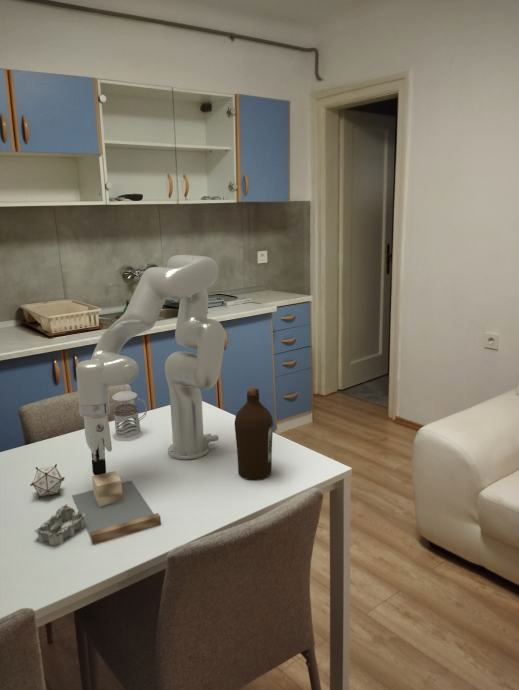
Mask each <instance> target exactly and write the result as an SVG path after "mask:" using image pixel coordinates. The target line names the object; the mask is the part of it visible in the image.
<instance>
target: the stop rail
mask: <svg viewBox="0 0 519 690" xmlns="http://www.w3.org/2000/svg"><path fill="white" fill-rule="evenodd" d="M161 519H162V518H161V515H160V514H159V512H157V513H154V514H153V515H149V516H146V517H142V518H139V519H135V520H132V521H128V522H125V523H121V524H118V525H114V526H111V527H107V528H104V529H100V530H97V531H93V532H90V533H91V539H90V541H91V543H92V545H95V544H100V543H103V542H107V541H110V540H113V539H116V538H120V537H124V536H126V535H131V534H134V533H137V532H140V531H144V530H146V529H151V528H153V527H157V526H160V525H162V520H161Z"/></svg>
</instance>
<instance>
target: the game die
mask: <svg viewBox="0 0 519 690" xmlns="http://www.w3.org/2000/svg"><path fill="white" fill-rule="evenodd" d="M57 466H58V464H57V463H55V465H54V466H49V467H43V468H38V467H37V466H35V469H36V473H35V477H34V479H33V481H32V482H31V483H30V484H29V486H30V487H32V486H33V488H34V489H35V491H36V492H37V494H38V495H39V496H38V499H41V498H42V497H45V496H51V495H57V496H60V495H61V493H60V488H61V485H62V482H63V481H65V478H66V477H65V476H61V474H60V472H59V470H58V468H57Z"/></svg>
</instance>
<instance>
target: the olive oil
mask: <svg viewBox="0 0 519 690" xmlns="http://www.w3.org/2000/svg"><path fill="white" fill-rule="evenodd" d="M259 389H260V388H259V387H251V386H250V387H248V388H247V389H246V402H245V404H244V405H243V406H241V408H240V409H239V410H238V411H237V413H236V415H235V418H234V432H235V434H234V435H235V443H236V454H237V455H236V457H237V468H238V469H237V472H238V475H239V476H240V477H241V478H242V479H244V480H249V481H259V480H260V481H261V480H265V479H266V478H268V477H270V475H271V474H272V469H273V468H272V460H273V458H272V457H273V430H274V429H273V428H274V427H273V426H274V421H273V416H272V414H271V411H270V410H268V408H267V407H265V405H264V404H262V402H260V390H259Z"/></svg>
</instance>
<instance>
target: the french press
mask: <svg viewBox="0 0 519 690" xmlns="http://www.w3.org/2000/svg"><path fill="white" fill-rule="evenodd" d="M137 396H138V393H137V392H134V391H131V390H126V389H125V388H123V390H121V391H119V392H116V393H114V394H113V395H112V397H111V399H112V400H113V401H115V402H119V403H120V402H121V403H124V404H119V405H117V406H116V407H114V412H113V414H114V415H113V418H114V427H115V432H114V434H113V436H112V438H113V440H115V441H117V442H131V441H134V440H137V439H140V438H141V437H143V435H144V432H143V431H142V430H141V423H140V422H141V420H143V419H145V417H146V415H147V412H148V408H147V404H146V402H145V400H143V399H142V398H140V397H137ZM133 400H136V404H139V401H140V402H143V404H144V407H145V409H144V413H143V414H142V416H140V417H139V410H138V409H137V408H138V407H137V405H136V404H133V403H127V402H130V401H133Z"/></svg>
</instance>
